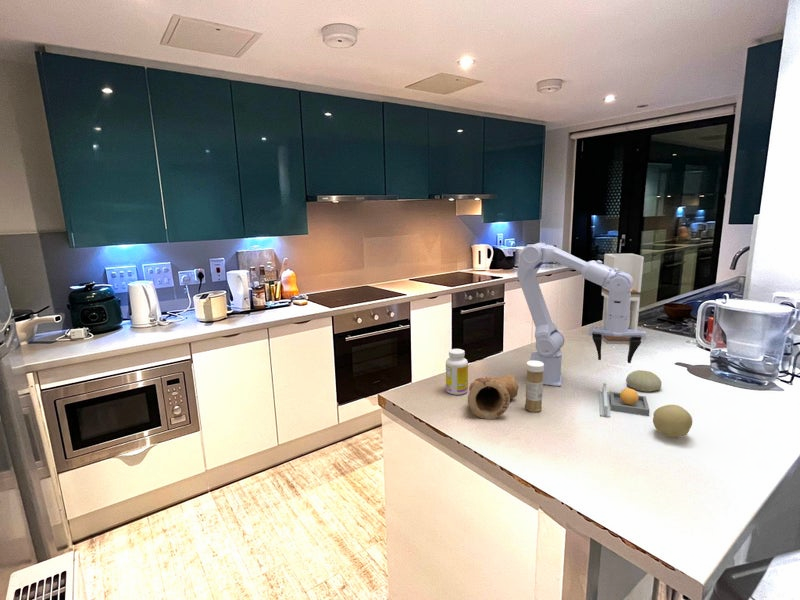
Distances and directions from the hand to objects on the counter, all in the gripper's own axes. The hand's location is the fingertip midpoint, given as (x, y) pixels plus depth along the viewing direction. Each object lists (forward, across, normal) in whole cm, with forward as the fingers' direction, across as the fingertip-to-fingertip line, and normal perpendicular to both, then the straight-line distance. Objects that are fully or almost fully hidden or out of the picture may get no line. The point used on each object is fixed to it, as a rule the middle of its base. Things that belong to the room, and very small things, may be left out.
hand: (614, 360), depth 123 cm
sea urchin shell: (+11, +9, +9) cm, 17 cm away
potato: (+11, +12, -21) cm, 26 cm away
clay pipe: (+11, -30, -21) cm, 38 cm away
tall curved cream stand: (+11, +4, +58) cm, 59 cm away
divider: (+10, -2, -8) cm, 13 cm away
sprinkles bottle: (+11, -20, -18) cm, 29 cm away
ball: (+8, +4, -7) cm, 11 cm away
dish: (+10, +4, -7) cm, 13 cm away
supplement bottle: (+11, -43, -14) cm, 46 cm away
